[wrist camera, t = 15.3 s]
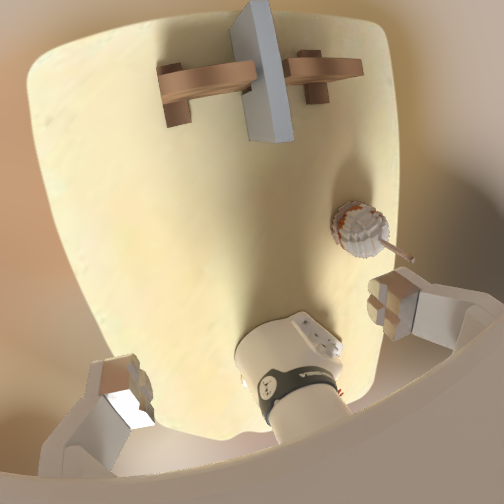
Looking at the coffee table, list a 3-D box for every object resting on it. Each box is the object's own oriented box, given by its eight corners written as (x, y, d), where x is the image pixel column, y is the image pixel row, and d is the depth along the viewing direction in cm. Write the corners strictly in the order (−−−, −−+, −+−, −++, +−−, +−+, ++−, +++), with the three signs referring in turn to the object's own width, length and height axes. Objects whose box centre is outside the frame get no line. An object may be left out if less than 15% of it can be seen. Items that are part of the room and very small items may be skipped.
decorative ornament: (374, 229, 48) (435, 264, 35) (340, 254, 48) (397, 299, 35) (359, 191, 44) (427, 219, 31) (322, 217, 44) (384, 255, 31)
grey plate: (228, 29, 30) (249, 0, 21) (243, 28, 30) (268, 0, 22) (249, 140, 37) (276, 143, 28) (263, 138, 37) (294, 140, 28)
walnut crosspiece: (316, 52, 34) (356, 36, 25) (325, 103, 37) (367, 99, 29) (156, 69, 30) (153, 48, 21) (167, 127, 33) (167, 125, 25)
